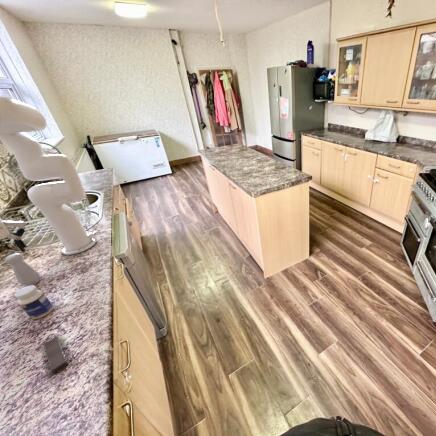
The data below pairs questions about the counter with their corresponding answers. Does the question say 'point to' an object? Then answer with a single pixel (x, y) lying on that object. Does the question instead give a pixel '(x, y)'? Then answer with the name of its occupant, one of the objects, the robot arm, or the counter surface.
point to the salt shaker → (22, 270)
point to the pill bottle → (33, 302)
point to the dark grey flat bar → (55, 354)
